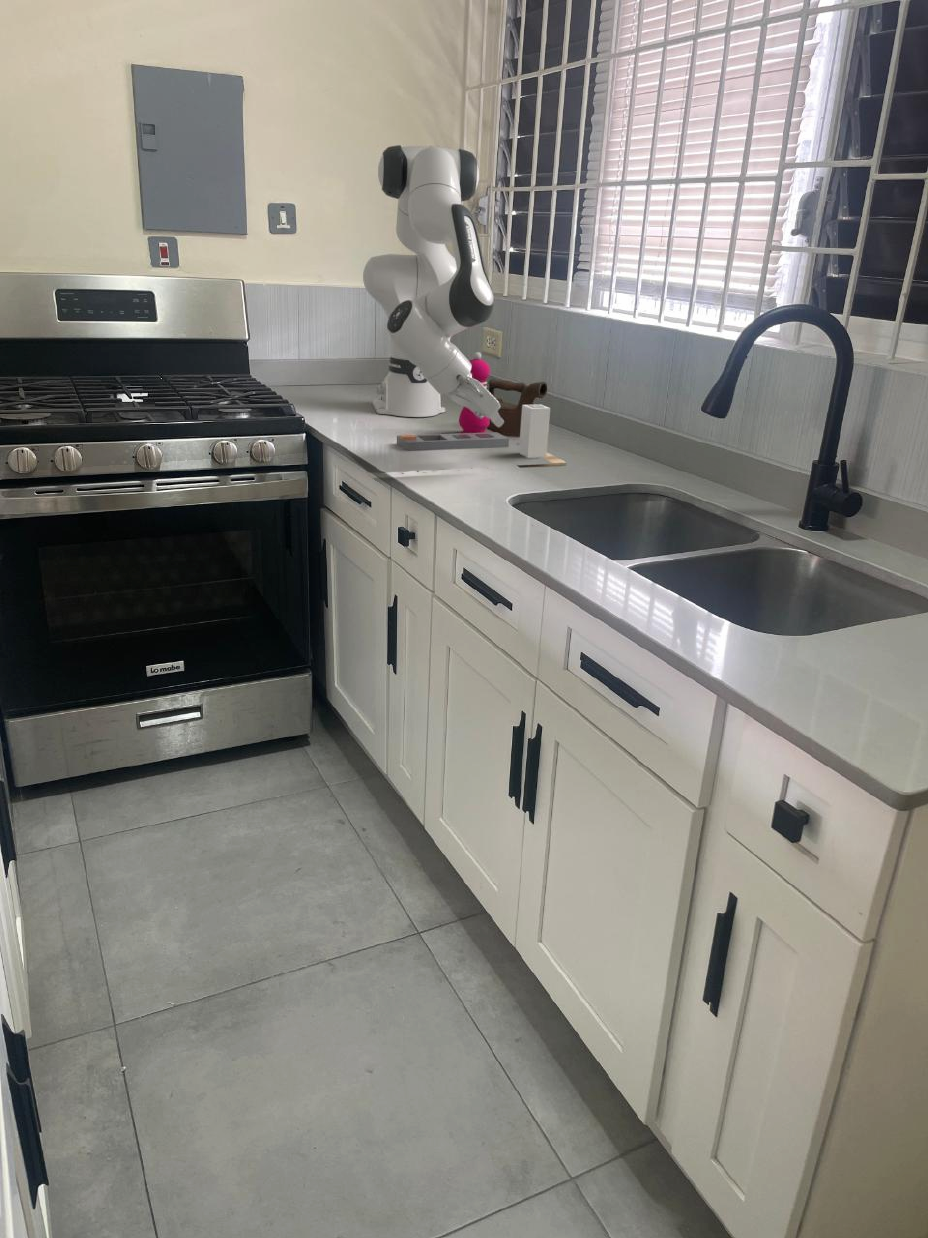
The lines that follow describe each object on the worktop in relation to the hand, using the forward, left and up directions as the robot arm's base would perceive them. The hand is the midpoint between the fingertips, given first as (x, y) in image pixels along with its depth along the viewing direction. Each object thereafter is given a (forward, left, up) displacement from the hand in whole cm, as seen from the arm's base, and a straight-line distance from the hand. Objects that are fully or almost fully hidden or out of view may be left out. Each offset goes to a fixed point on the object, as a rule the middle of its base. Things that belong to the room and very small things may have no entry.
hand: (491, 420), depth 196 cm
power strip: (-12, 0, -9) cm, 15 cm away
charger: (0, +10, -8) cm, 13 cm away
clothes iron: (-28, +17, -9) cm, 34 cm away
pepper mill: (-22, +5, -9) cm, 25 cm away
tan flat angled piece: (0, +10, -9) cm, 14 cm away
